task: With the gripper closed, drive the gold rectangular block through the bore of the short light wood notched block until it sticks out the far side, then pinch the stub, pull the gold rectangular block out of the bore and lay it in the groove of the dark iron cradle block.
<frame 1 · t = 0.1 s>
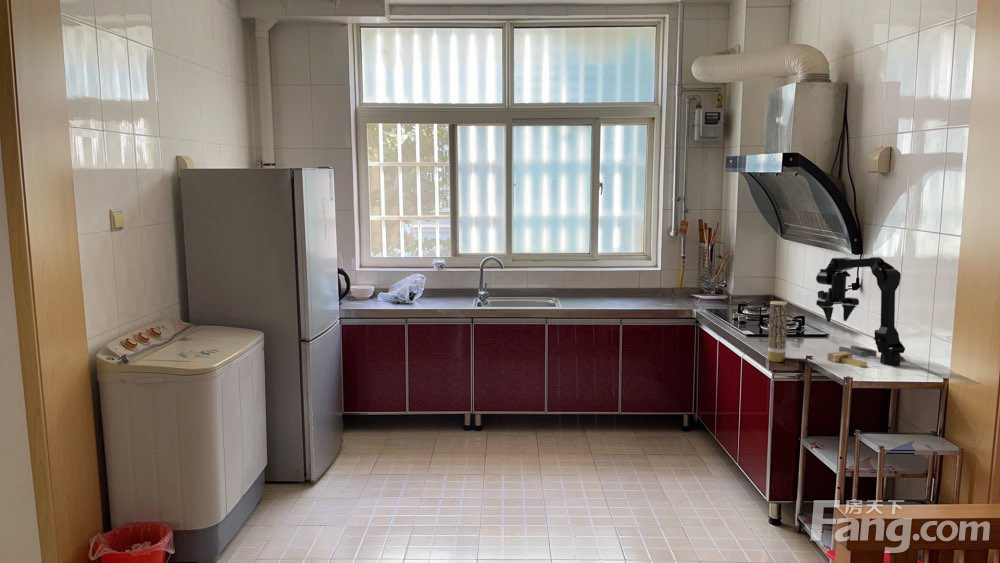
hand: (836, 321, 306), 15 cm above the counter, tool pointing down, fingers open, 9 cm apart
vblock: (857, 356, 302), on the counter
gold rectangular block: (851, 363, 282), point 1 cm above the counter
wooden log: (776, 361, 294), on the counter
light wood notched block: (839, 364, 287), on the counter
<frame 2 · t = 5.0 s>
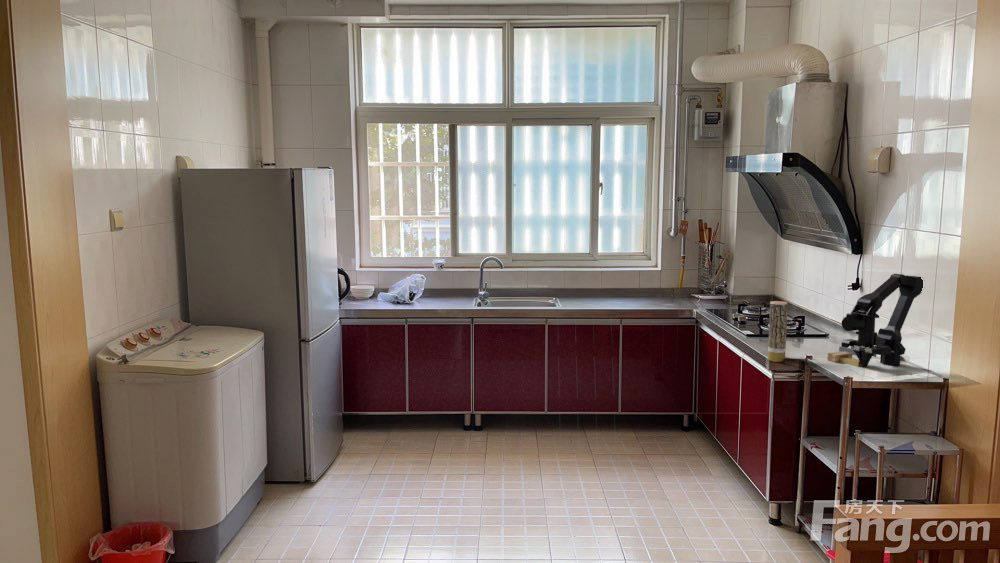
hand: (864, 368, 276), 1 cm above the counter, tool pointing down, fingers closed
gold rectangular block: (849, 362, 283), point 2 cm above the counter
everything else where it was.
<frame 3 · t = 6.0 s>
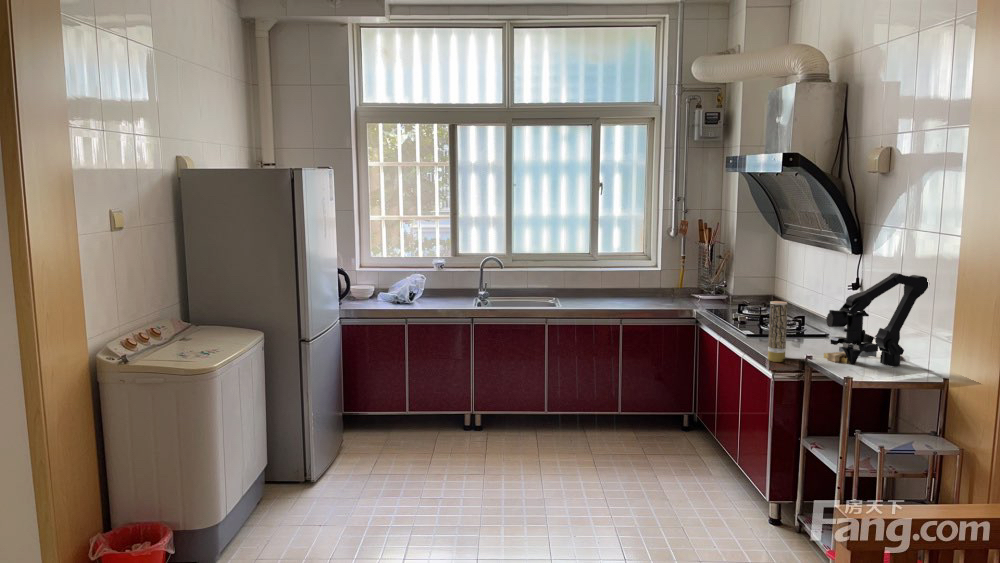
hand: (852, 365, 281), 1 cm above the counter, tool pointing down, fingers closed
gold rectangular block: (838, 359, 288), point 2 cm above the counter, touching gripper
everything else where it was.
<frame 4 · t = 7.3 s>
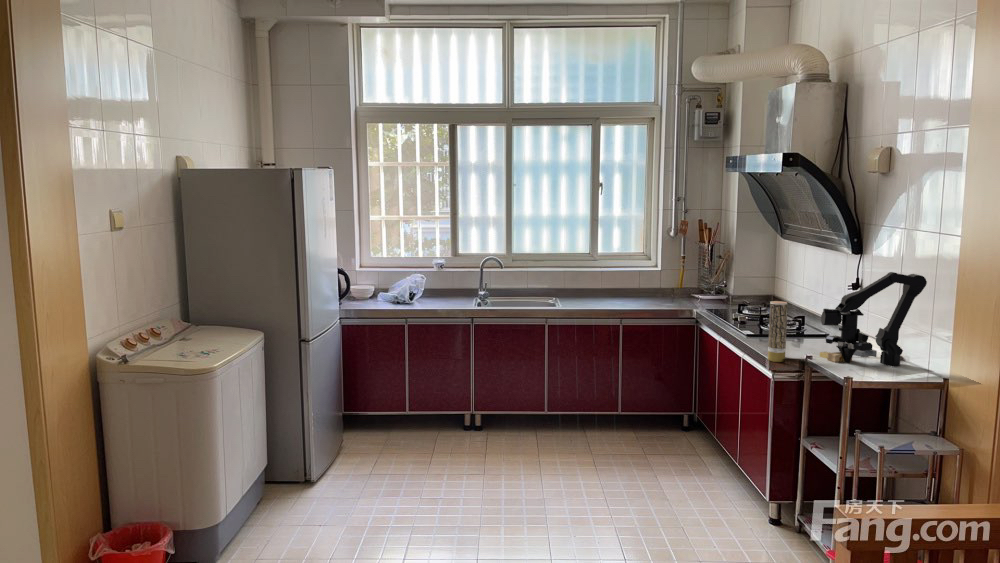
hand: (847, 363, 283), 1 cm above the counter, tool pointing down, fingers closed
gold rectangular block: (833, 358, 291), point 1 cm above the counter
everything else where it was.
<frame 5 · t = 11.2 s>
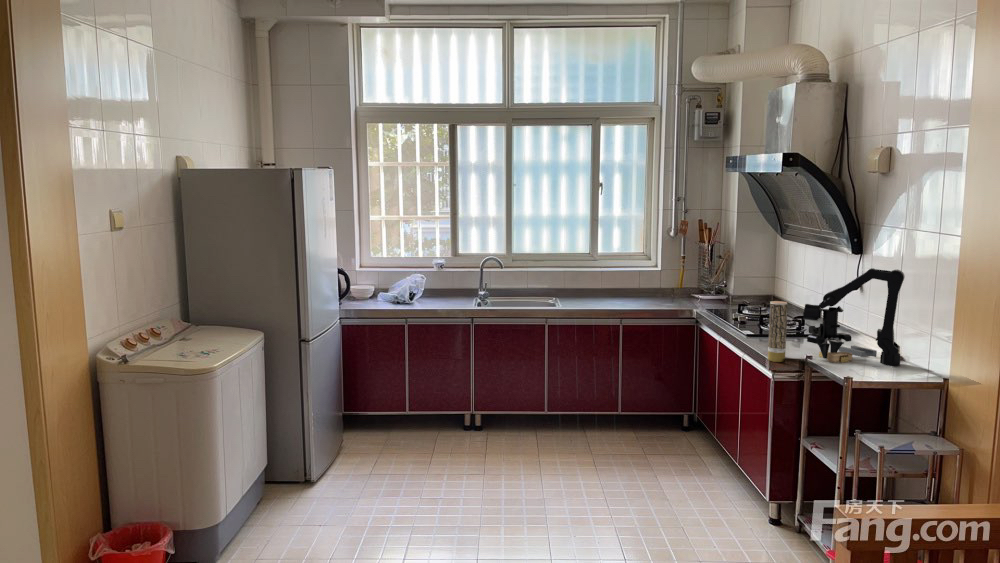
hand: (828, 358, 293), 1 cm above the counter, tool pointing down, fingers closed on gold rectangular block, 4 cm apart
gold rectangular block: (833, 358, 290), point 2 cm above the counter, touching gripper
everything else where it was.
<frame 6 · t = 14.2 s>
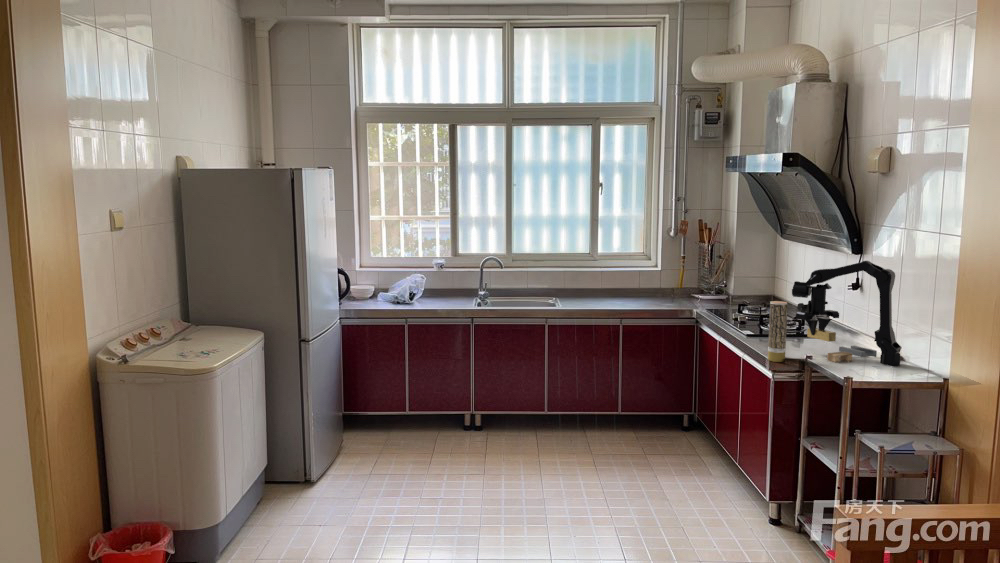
hand: (816, 334, 299), 10 cm above the counter, tool pointing down, fingers closed on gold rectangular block, 4 cm apart
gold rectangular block: (821, 334, 296), point 11 cm above the counter, touching gripper
everything else where it was.
when the fingers open (4 cm above the counter, at t = 17.3 s): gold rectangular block drops 1 cm, resting on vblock.
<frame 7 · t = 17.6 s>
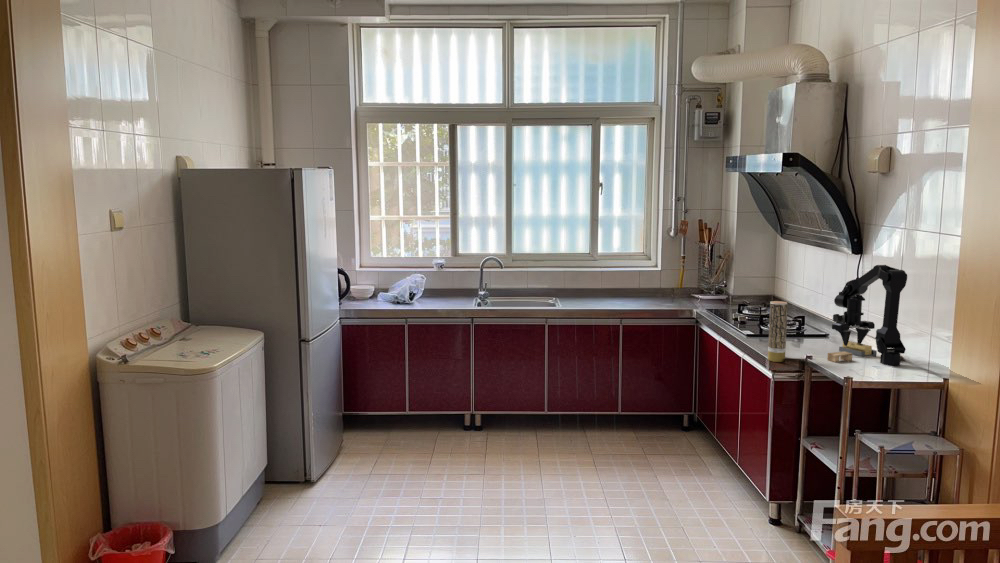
hand: (852, 345, 304), 4 cm above the counter, tool pointing down, fingers open, 7 cm apart
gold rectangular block: (856, 347, 302), point 4 cm above the counter, touching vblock
everything else where it was.
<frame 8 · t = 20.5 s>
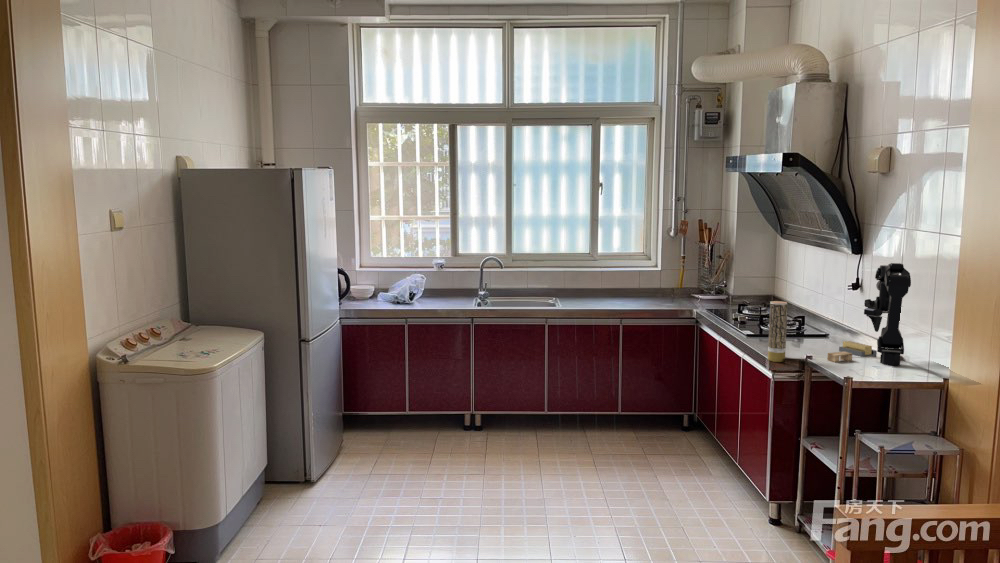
hand: (884, 331, 297), 12 cm above the counter, tool pointing down, fingers open, 9 cm apart
nothing on the counter moved.
at the end: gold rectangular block 0.5 cm off-centre on the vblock, point 3.8 cm above the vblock's base; the gripper is holding nothing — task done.
